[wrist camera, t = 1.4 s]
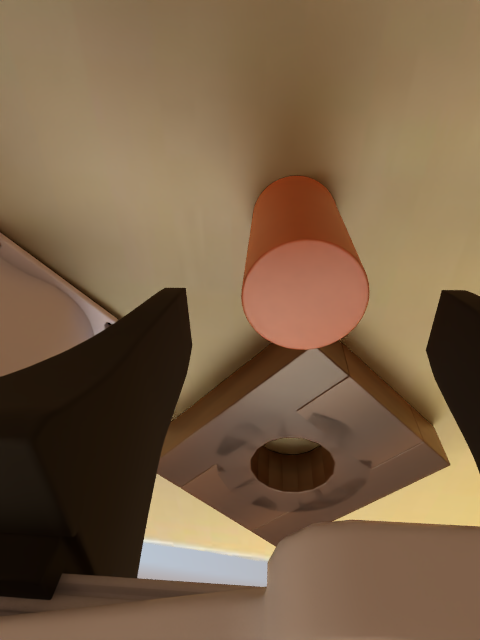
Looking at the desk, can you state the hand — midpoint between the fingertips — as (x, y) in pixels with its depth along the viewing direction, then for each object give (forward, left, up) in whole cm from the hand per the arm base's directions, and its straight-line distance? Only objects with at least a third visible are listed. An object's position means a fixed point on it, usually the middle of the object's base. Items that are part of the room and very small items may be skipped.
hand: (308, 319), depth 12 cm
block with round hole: (+10, -10, -9) cm, 17 cm away
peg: (0, 0, -9) cm, 9 cm away
